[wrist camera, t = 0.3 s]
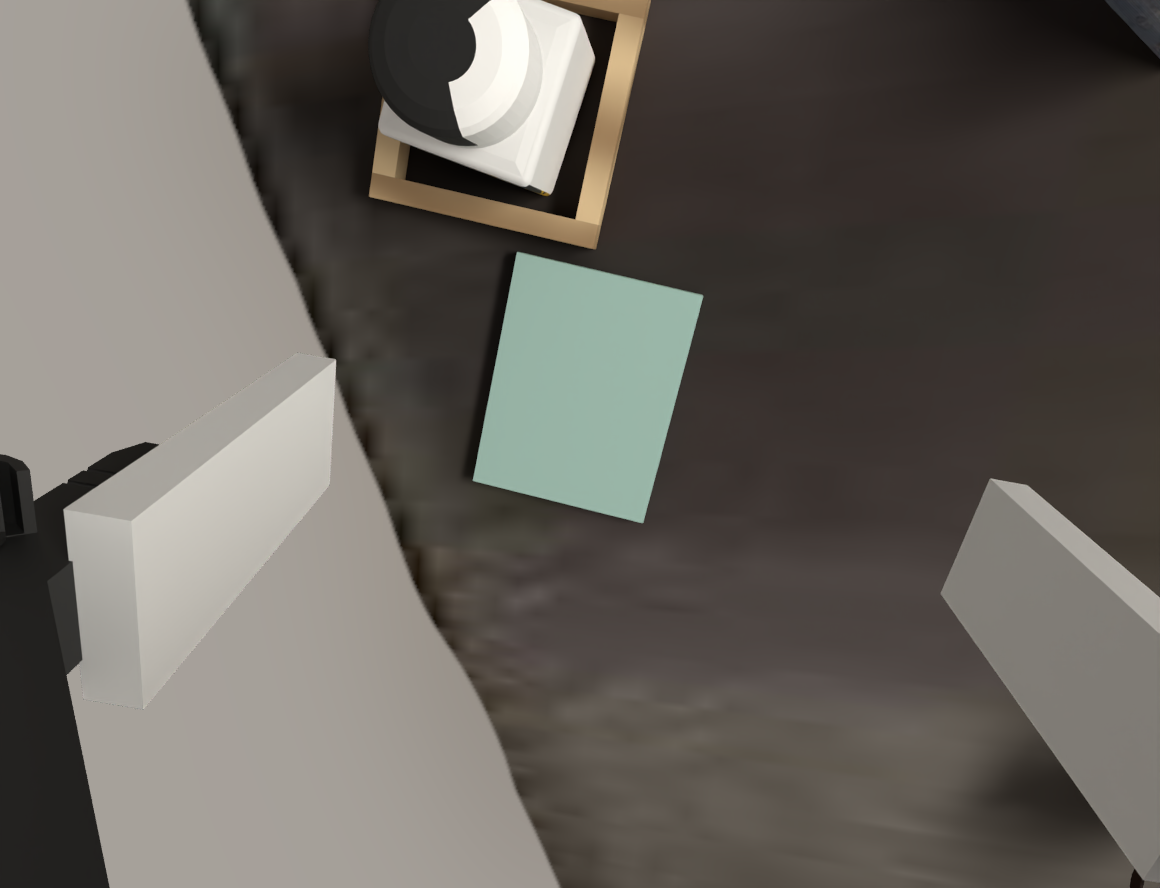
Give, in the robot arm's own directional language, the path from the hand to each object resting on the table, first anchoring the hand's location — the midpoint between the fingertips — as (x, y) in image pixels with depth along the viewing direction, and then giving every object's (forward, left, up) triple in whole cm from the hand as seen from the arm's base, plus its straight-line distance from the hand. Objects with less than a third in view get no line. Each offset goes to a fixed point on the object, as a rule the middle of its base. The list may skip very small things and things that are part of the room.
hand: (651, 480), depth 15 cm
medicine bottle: (-9, -10, -27) cm, 30 cm away
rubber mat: (+4, -3, -26) cm, 27 cm away
